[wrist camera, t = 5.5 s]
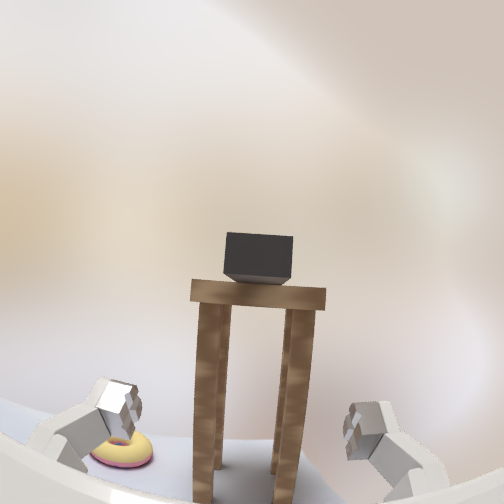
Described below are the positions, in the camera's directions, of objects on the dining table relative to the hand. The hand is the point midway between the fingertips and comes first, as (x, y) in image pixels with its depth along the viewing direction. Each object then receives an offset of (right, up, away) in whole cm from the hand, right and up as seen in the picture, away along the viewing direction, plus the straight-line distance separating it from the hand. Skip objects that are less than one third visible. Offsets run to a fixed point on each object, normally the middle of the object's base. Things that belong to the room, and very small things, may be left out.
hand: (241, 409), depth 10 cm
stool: (-1, -24, +20) cm, 31 cm away
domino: (+1, +3, +20) cm, 20 cm away
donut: (-19, -23, +24) cm, 38 cm away
